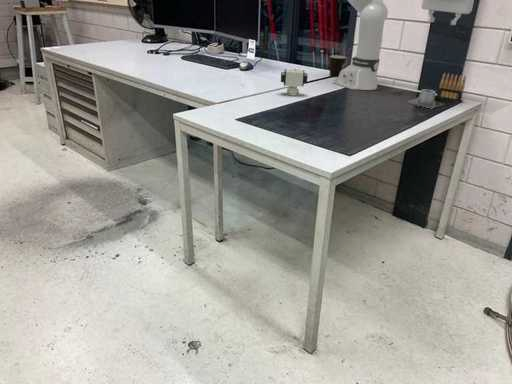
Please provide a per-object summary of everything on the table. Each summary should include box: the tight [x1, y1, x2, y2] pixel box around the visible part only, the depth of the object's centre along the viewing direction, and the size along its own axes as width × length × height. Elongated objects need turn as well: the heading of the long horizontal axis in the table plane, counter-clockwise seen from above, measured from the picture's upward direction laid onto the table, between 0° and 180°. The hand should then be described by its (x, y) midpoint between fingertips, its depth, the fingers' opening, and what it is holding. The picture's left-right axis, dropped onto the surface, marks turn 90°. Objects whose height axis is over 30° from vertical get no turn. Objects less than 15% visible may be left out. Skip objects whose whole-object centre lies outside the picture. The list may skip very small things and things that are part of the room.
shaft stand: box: [405, 97, 446, 110], centre depth 184 cm, size 12×12×5 cm
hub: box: [418, 88, 437, 104], centre depth 183 cm, size 6×6×5 cm
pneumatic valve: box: [280, 67, 308, 97], centre depth 187 cm, size 6×12×12 cm, turn 89°
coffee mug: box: [329, 54, 347, 78], centre depth 226 cm, size 12×9×10 cm
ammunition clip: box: [435, 72, 467, 101], centre depth 190 cm, size 11×2×12 cm, turn 55°
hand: (441, 23), depth 173 cm, fingers open, 8 cm apart
